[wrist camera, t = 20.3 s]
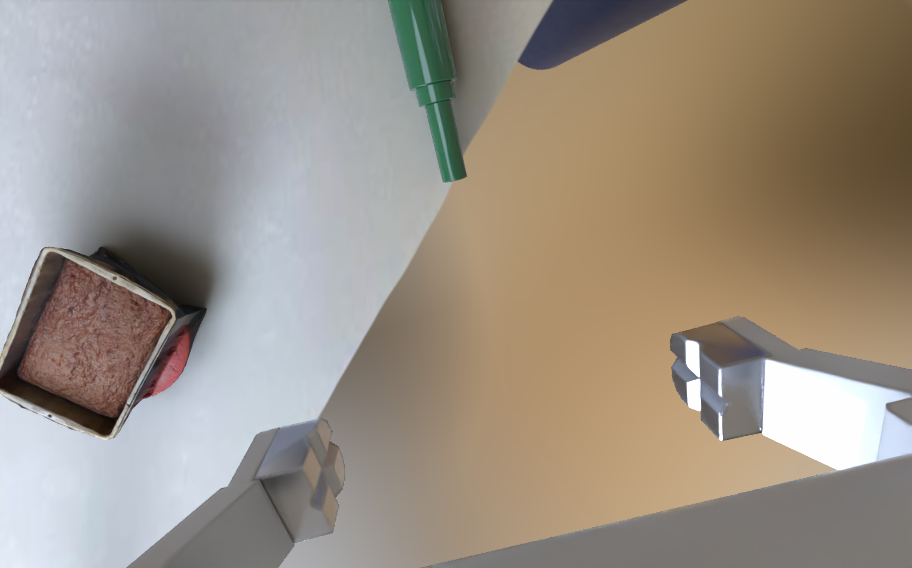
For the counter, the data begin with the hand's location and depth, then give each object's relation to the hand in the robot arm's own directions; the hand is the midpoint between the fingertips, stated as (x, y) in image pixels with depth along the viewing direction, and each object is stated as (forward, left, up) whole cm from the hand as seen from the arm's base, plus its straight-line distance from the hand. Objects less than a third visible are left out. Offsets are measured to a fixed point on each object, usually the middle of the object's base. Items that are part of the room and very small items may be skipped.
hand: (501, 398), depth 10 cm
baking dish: (+34, +6, -36) cm, 50 cm away
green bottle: (0, -11, -35) cm, 37 cm away
